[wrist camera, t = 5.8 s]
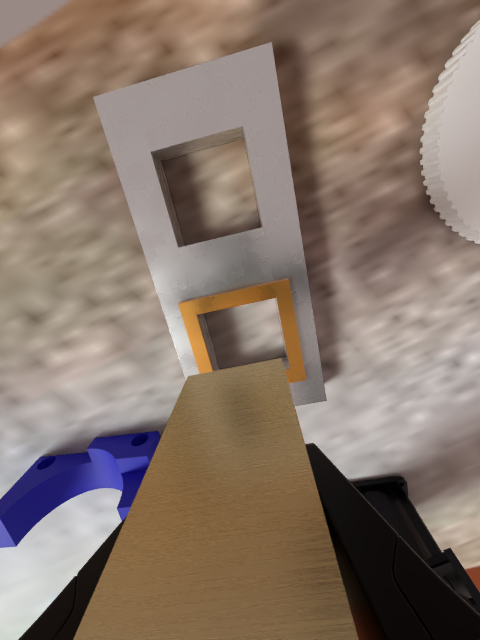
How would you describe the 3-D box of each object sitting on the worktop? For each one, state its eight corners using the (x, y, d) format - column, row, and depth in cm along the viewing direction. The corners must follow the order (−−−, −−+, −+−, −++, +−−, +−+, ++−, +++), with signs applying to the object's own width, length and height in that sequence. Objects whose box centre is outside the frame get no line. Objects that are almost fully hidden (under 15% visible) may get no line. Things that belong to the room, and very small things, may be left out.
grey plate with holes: (268, 65, 16) (272, 38, 13) (319, 386, 22) (327, 402, 20) (111, 112, 16) (90, 94, 14) (203, 407, 23) (199, 425, 21)
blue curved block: (158, 429, 24) (131, 490, 18) (170, 468, 25) (147, 536, 20) (35, 443, 25) (-29, 505, 19) (52, 479, 26) (-2, 547, 20)
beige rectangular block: (281, 358, 11) (410, 827, 2) (297, 436, 12) (422, 948, 3) (187, 375, 11) (-13, 836, 3) (211, 450, 12) (128, 942, 4)
